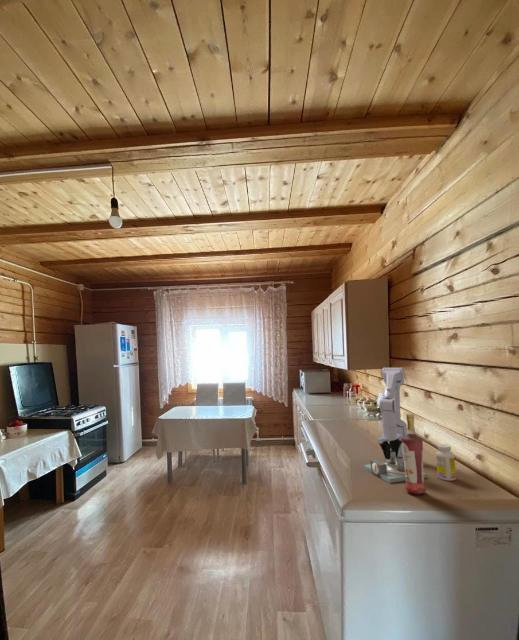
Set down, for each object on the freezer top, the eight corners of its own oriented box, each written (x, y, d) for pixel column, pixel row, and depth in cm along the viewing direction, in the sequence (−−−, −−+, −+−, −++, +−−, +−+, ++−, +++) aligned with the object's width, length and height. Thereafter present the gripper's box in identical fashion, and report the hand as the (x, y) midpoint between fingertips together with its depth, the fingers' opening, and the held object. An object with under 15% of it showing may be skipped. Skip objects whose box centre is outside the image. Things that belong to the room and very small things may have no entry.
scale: (398, 464, 155) (397, 452, 155) (427, 477, 137) (426, 464, 138) (363, 468, 150) (362, 456, 150) (388, 483, 132) (387, 469, 133)
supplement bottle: (454, 476, 138) (451, 444, 140) (458, 482, 132) (455, 448, 133) (436, 474, 140) (433, 443, 142) (439, 480, 134) (436, 447, 136)
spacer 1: (389, 460, 151) (388, 449, 152) (398, 463, 147) (397, 451, 148) (383, 462, 149) (382, 450, 149) (392, 464, 145) (391, 453, 145)
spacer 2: (404, 468, 143) (403, 456, 144) (411, 471, 139) (410, 458, 139) (395, 469, 142) (394, 457, 142) (402, 472, 138) (401, 460, 138)
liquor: (431, 495, 120) (425, 415, 123) (413, 497, 119) (407, 417, 122) (417, 487, 127) (412, 412, 131) (400, 489, 126) (395, 413, 129)
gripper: (392, 422, 156) (394, 452, 155) (370, 426, 149) (372, 458, 148) (405, 425, 150) (407, 456, 149) (383, 429, 143) (385, 462, 142)
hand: (391, 457), depth 148 cm, fingers closed on spacer 1, 4 cm apart
